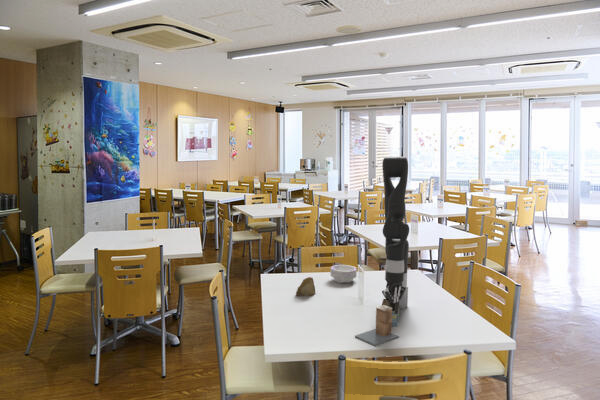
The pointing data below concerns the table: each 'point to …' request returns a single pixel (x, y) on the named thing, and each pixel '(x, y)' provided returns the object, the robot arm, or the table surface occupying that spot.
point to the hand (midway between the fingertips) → (393, 310)
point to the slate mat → (375, 337)
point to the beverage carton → (393, 312)
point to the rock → (306, 287)
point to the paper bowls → (343, 273)
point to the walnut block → (383, 320)
